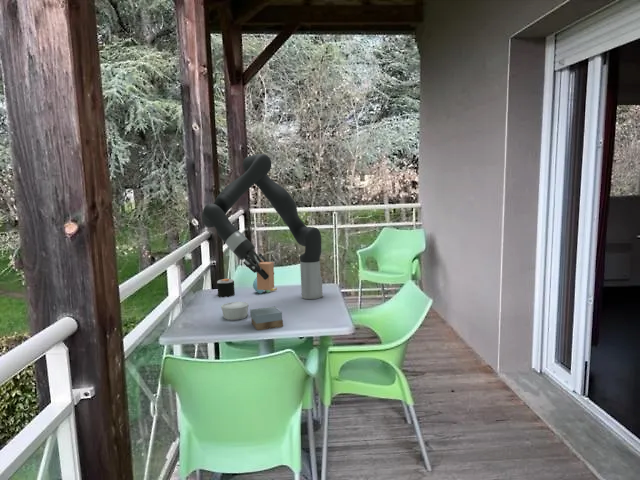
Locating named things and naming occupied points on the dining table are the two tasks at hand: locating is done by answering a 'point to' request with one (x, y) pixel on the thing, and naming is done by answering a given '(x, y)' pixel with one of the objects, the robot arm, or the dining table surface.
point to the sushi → (225, 287)
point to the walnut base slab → (267, 324)
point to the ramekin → (235, 310)
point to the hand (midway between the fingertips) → (269, 276)
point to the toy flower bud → (261, 290)
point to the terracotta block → (269, 282)
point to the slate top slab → (265, 314)
